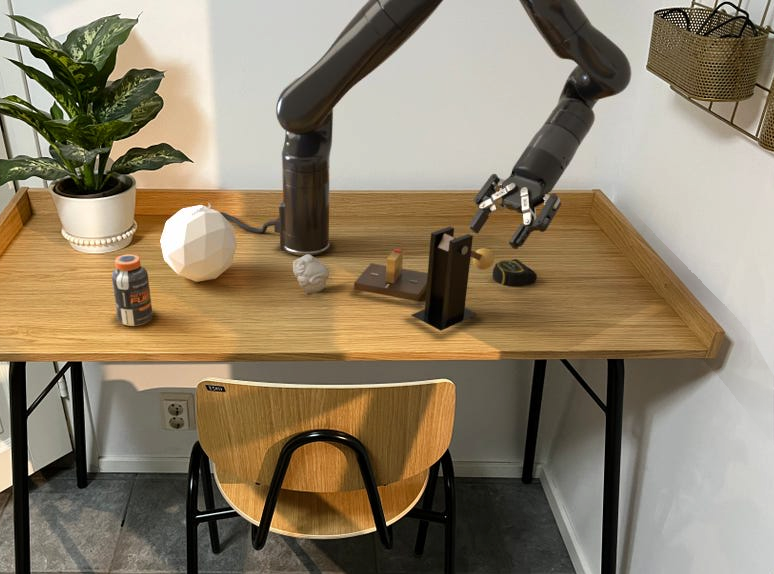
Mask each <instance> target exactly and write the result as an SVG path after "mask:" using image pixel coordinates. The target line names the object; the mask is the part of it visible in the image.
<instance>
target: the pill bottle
mask: <svg viewBox="0 0 774 574" xmlns="http://www.w3.org/2000/svg"><path fill="white" fill-rule="evenodd" d="M114 261H115V269H114V270H113V272H112V274H111V281H112V287H113V294H114V302H115V307H116V313H117V314H116V315H117V320H118V322H119V323H120V324H122V325H124V326H129V327H135V326H136V327H137V326H141V325H144V324H146V323H148V322H150V321H151V320H152V319H153V317H154V314H153V307H152V297H151V289H150V281H149V274H148V271H147V269H146V268H145V267H144V266H142V264H141V257H140V256H138V255H136V254H123V255H119V256H117V257H116V258H115V260H114Z"/></svg>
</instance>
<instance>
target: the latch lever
mask: <svg viewBox="0 0 774 574" xmlns="http://www.w3.org/2000/svg"><path fill="white" fill-rule="evenodd" d="M456 238H457V237H454V236H453V237H452V236H449V235H447V234H444V235H443V237H442V240H441V242H440V244H439V246H438V248H441V249H443V250H445V251H448V252H449V241H450V240H453V239H456ZM470 258H472V263H473V266H475V268H477V269H479V270H487V269H490V268H491V267H492V266H493V264H494V263H495V255H494V253H493V252H492V250H490V249H489V248H485V247H482V248H479V249H477V250H476V251H474V250H472V249H471V257H470Z"/></svg>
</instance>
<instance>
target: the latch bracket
mask: <svg viewBox="0 0 774 574" xmlns="http://www.w3.org/2000/svg"><path fill="white" fill-rule="evenodd" d="M444 234H447V235H449V236H452V237H454V234H455V227H452V226H451V225H449V226H446V227H443V228H441V229H439V230H435V231H433V232H430V242H429V255H428V266H427V273H428V276H427V288H426V290H425V301H424V308H423V309H421V310H419V311H417V312H414V313H412V314H411V317H413V318H415V319H417V320H419V321H421V322H423V323H425V324H427V325H429V326H430V327H432V328H435V329H436V330H438V331H439V332H442V331H443V330H446V329H449V328H451V327H453V326H455V325H457V324H459V323H461V322H464V321H466V320H468V319H470V318H473V317H475V316H477V315H478V314H477V313H476V312H474V311H471V310H469V309H467V308H466V301H467V300H466V299H467V293H468V283H469V275H470V274H469V273H470V267H471V266H470V265H471V258H472V257H471V250H472V247H473V239H474V235H473V234H470V233H467V234H464V235H461V236H458V237H455V238H456V239H453V240H450V241H449V252H448V251H445V250H443V249H441V248H438V246H439V244H440V242H441V240H442V237H443V235H444Z"/></svg>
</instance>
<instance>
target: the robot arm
mask: <svg viewBox="0 0 774 574" xmlns="http://www.w3.org/2000/svg"><path fill="white" fill-rule="evenodd" d="M443 1H444V0H368V1H366V3H365V4H364V5H363V6H362V7H361V8H360V9H359V10H358V11H357V13H356V14H355V15H354V16H353V17H352V18H351V20H350V21H349V22H348V23H347V24H346V26H345V27H344V28H343V29H342V31H341V32H340V33H339V34H338V36H337V38H335V40H334V41H333V43H332V44H331V46H330V47H329V48H328V49H327V51H326V52H325V53H324V55H322V56H321V58H320V59H319V60H318V61H317V62H315V64H313V65H312V66H310V68H309V69H308V70H307V71H305V72H304V73H303V74H302V75H301V76H299V77H297V78H295V79H294V80H292V81H290V83H289V84H288V85H287V86H285V87H284V89H282V91H281V92H280V93H279V96H278V98H277V101H276V107H275V115H276V120H277V122H278V124H279V125H280V127H281V128H282V129H283V130H284V131H285V135H284V136H285V137H284V143H283V147H282V151H281V172H282V173H281V176H282V177H281V179H282V181H281V182H282V202H280V203H279V205H278V216H279V217H278V218H276V219H275V220H268V221H267V222H265V223H263V225H262V228H256V227H253V226H250V225H247V224H244V223H242V222H241V221H240V220H239V219H238V218H237V217H235V216H233V215H230V214H227V213H226V212H222V211H219V212H220V213H221V214H222V215H223V216H224V217H225V218H226V220H228V221H232V222H233V223H235V224H236V225H237V226H238V227H239V228H241V229H243V230H245V231H248V232H251V233H255V234H263V233H266V231H267V230H268V228H269V227H272V226H273V227H274V229H273V230H274V233H275V234H276V233H277V234H279V249H280V250H283V251H285V252H287V253H288V254H291V255H293V256H300V257H302V256H304V255H307V254H310V255H311V256H313V257H314V256H319V255H322V254H324V253H326V252H327V251H329V250H330V165H331V164H330V163H331V152H332V146H333V125H334V108H335V107H336V106H337V104H338V103H340V101H341V100H342V99H343V97H344V96H346V95H347V93H348V92H349V91H350V90H351V89H352V88H353V87H355V86H356V85H357V84H358V83H360V82H361V81H362V80H363V79H365V78H366V77H368V76H369V75H370V74H371V73H373V72H374V71H375V70H376V69H378V67H380V66H381V65H382V64H383V63H385V62H386V61H387V60H388V59H389V58H390V57H391V56H393V55H394V54H395V53H396V52H397V51H398V50H399V49H401V48H402V46H403V45H404V44H406V43H407V42H408V40H410V39H411V37H413V36H414V35H415V34H416V32H418V30H419V29H420V28H421V27H422V26H423V25H424V24H425V23H426V22H427V20H428V19H430V17H431V16H432V15H433V14H434V13H435V11H436V10H437V9H438V8H439V7H440V5H441V4H442V3H443ZM518 1H519V3H520V5H521V7H522V8H523V10H524V11H525V13H526V15H527V16H528V18H529V20H530V21H531V23H532V25H533V26H534V27H535V29H536V30H537V32H538V33H539V35H540V36H541V37H542V39H543V40H544V41H545V43H546V44H547V45H548V47H549V48H550V49H551V51H552V52H553V54H554V55H555V56H556V57H557V58H558V59H561V60H570V61H573V62H574V63H575V64H576V66H575V67H574V68H573V70H571V72H570V73H569V75H568V77H567V79H566V80H565V83H564V85H563V87H562V90H561V92H560V95H559V98H558V101H557V104H556V106H555V107H554V108H553V109H552V111H551V112H550V114H549V116H547V118H546V120H545V122H544V123H543V125H541V127H540V128H539V130H538V131H536V133H535V134H534V136H533V137H532V138H531V140H530V141H529V142H528V144H527V146H526V147H525V148H524V150H523V152H522V153H521V155H520V156H519V158H518V159H517V161H516V162H515V163H514V165H513V167H512V170H511V173H510V175H509V176H508V177H507V178H505V179H503V178H500V177H499V176H498V174H496V173H492V174H491V175H490V176H489V178H488V179H487V180H486V182H485V183H484V185H483V186H482V187H481V188H480V190H479V191H478V193H477V194H476V195H475V196H474V198H473V203H475V205H477V208H478V210H477V211H476V213H475V214H474V216H473V217H472V219H471V220H470V223H469V229H470V230H471V231H472V232H473V233H475V234H479V233H480V231H481V230H482V228H483V227H484V226H485V224H486V223H487V221H488V219H489V218H490V215H492V214H494V213H495V212H497V211H503V210H505V209H507V210H510V211H515V212H517V213H518V214H521V215H522V218H523V219H522V221H523V223H520V224H519V226H518V227H517V229H516V230H515V232H514V234H513V235H512V236H511V237H510V240H509V241H508V245H509V246H510V247H511V248H512V249H514V250H518V249H519V248H522V246H523V245H524V243H526V241H527V239H528V238H529V236H530V235H531V233H533V232H535V231H539V232H541V233H544V232H546V231H547V229H548V228H549V226H550V224H551V223H552V221H553V219H554V218H555V216H556V214H557V213H558V211H559V209H560V208H561V206H562V201H561V199H560V197H559V196H558V195H557V193H554V192H553V193H551V192H552V191H553V189H554V187H556V184H557V183H558V182H559V180H560V179H561V177H562V176H563V174H564V173H565V171H566V170H567V168H568V166H570V164H571V162H572V160H573V159H574V157H575V155H576V153H577V151H578V149H579V148H580V146H581V144H582V143H583V141H584V140H585V139H586V137H587V135H588V134H589V133H590V131H591V129H592V127H593V126H594V124H595V121H596V116H595V112H594V107H595V105H596V104H597V103H598V102H599V101H600V100H602V99H606V98H610V97H614V96H617V95H619V94H621V93H622V92H624V91H625V90H626V89H627V88H628V86H629V84H630V83H631V79H632V66H631V63H630V60H629V59H628V57H627V55H626V53H624V51H623V50H622V49H621V48H620V47H619V46H618V44H616V43H615V42H614V41H613V40H611V39H610V38H609V37H607V35H605V33H603V32H602V31H601V30H599V29H597V28H596V27H595V26H594V25H593V24H592V22H591V20H590V19H589V17H588V16H587V15H586V13H585V12H584V11H583V9H582V8H581V6H580V5H579V3H578V2H577V1H576V0H518ZM549 193H551V194H549ZM500 200H501V201H500ZM542 204H543V206H542V208H541V209H540V211H539V213H538V215H537V210H536V208H537V207H539V206H541V205H542Z"/></svg>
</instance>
